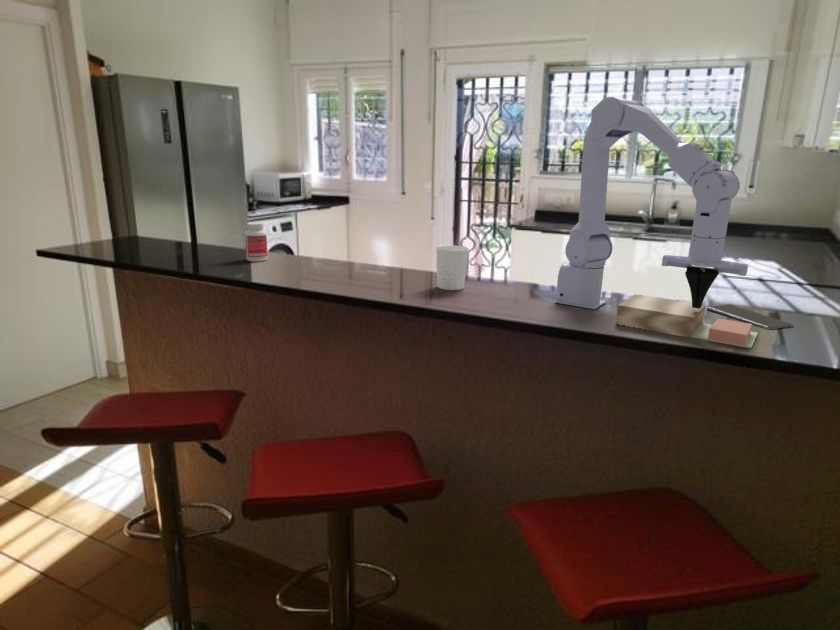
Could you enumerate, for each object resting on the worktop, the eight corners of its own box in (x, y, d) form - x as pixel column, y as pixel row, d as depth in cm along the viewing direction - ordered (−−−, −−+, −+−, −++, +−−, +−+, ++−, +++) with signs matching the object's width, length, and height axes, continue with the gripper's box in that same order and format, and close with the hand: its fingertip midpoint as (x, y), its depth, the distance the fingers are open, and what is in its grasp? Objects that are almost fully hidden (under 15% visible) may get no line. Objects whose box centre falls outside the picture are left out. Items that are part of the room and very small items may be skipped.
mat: (690, 337, 108) (691, 335, 108) (701, 324, 116) (702, 323, 116) (751, 348, 102) (751, 346, 102) (757, 334, 111) (758, 332, 111)
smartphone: (770, 327, 114) (705, 306, 128) (768, 332, 114) (704, 310, 128) (795, 324, 116) (730, 304, 131) (794, 329, 117) (729, 308, 131)
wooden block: (615, 324, 115) (617, 305, 114) (632, 312, 124) (634, 294, 123) (690, 338, 107) (693, 317, 106) (702, 323, 117) (705, 305, 116)
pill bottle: (271, 260, 172) (269, 223, 169) (253, 262, 168) (250, 225, 165) (261, 257, 176) (259, 221, 173) (242, 259, 172) (240, 222, 169)
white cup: (428, 287, 143) (429, 247, 140) (448, 282, 149) (450, 244, 146) (452, 292, 138) (454, 251, 135) (472, 287, 143) (474, 248, 141)
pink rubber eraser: (746, 334, 102) (744, 345, 103) (752, 323, 109) (750, 333, 110) (709, 328, 105) (707, 338, 106) (717, 318, 113) (716, 327, 113)
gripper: (662, 234, 107) (652, 304, 111) (749, 243, 99) (736, 318, 103) (670, 231, 113) (661, 298, 116) (754, 239, 105) (741, 310, 109)
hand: (696, 307), depth 110 cm, fingers closed
